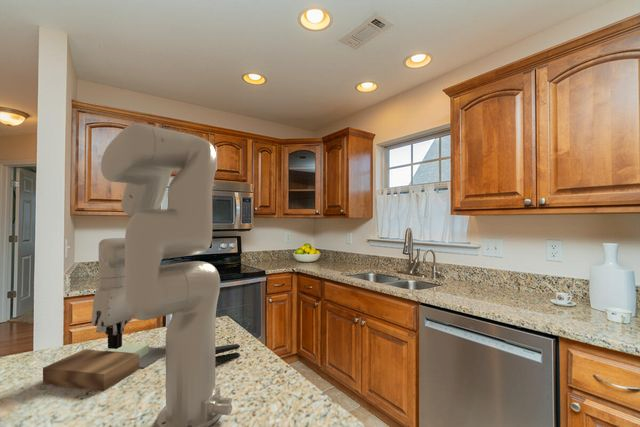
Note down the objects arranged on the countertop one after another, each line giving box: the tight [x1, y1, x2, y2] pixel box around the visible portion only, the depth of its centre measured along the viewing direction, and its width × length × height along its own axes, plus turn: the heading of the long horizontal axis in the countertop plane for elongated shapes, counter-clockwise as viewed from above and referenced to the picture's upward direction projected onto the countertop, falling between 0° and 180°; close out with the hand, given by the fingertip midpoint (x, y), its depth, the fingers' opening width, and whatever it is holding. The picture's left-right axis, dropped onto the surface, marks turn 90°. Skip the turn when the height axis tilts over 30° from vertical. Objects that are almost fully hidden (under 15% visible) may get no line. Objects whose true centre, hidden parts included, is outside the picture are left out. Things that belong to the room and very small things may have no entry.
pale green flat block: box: [106, 342, 150, 358], centre depth 93 cm, size 9×6×2 cm, turn 79°
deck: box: [42, 349, 140, 392], centre depth 81 cm, size 18×11×4 cm, turn 79°
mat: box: [105, 346, 166, 369], centre depth 93 cm, size 20×12×1 cm, turn 79°
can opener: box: [215, 343, 241, 364], centre depth 87 cm, size 18×7×6 cm, turn 133°
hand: (114, 347), depth 88 cm, fingers closed
